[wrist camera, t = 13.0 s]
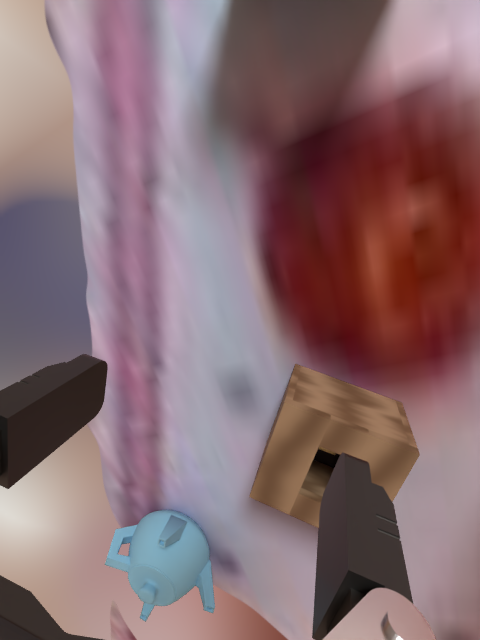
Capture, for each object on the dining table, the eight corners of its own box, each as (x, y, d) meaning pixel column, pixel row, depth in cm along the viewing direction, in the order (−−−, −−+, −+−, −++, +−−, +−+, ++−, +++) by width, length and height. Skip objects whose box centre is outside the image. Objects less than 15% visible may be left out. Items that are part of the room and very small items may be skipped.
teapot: (190, 491, 56) (158, 550, 47) (232, 561, 58) (211, 632, 48) (125, 509, 62) (85, 565, 52) (166, 573, 64) (134, 638, 54)
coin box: (401, 402, 42) (419, 454, 33) (359, 483, 47) (364, 548, 38) (295, 363, 45) (284, 401, 35) (265, 444, 50) (249, 496, 40)
